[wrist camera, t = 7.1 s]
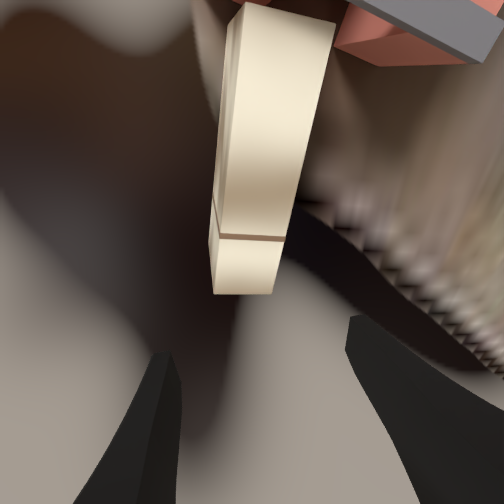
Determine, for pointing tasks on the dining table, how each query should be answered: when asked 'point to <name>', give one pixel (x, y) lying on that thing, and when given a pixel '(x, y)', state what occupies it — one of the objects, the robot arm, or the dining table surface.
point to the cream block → (262, 140)
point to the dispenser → (417, 31)
